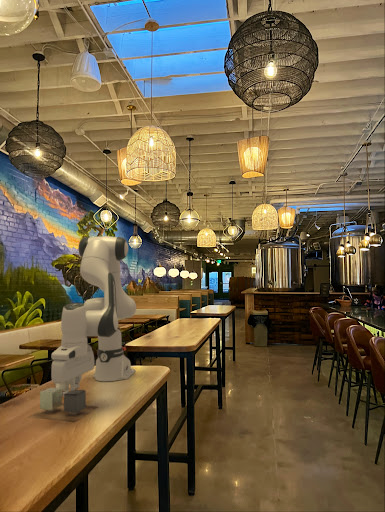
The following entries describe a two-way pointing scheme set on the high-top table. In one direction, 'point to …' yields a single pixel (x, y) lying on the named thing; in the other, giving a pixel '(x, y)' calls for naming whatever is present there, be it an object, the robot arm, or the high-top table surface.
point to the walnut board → (63, 414)
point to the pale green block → (51, 399)
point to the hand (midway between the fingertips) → (74, 389)
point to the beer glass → (63, 387)
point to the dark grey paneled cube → (74, 401)
